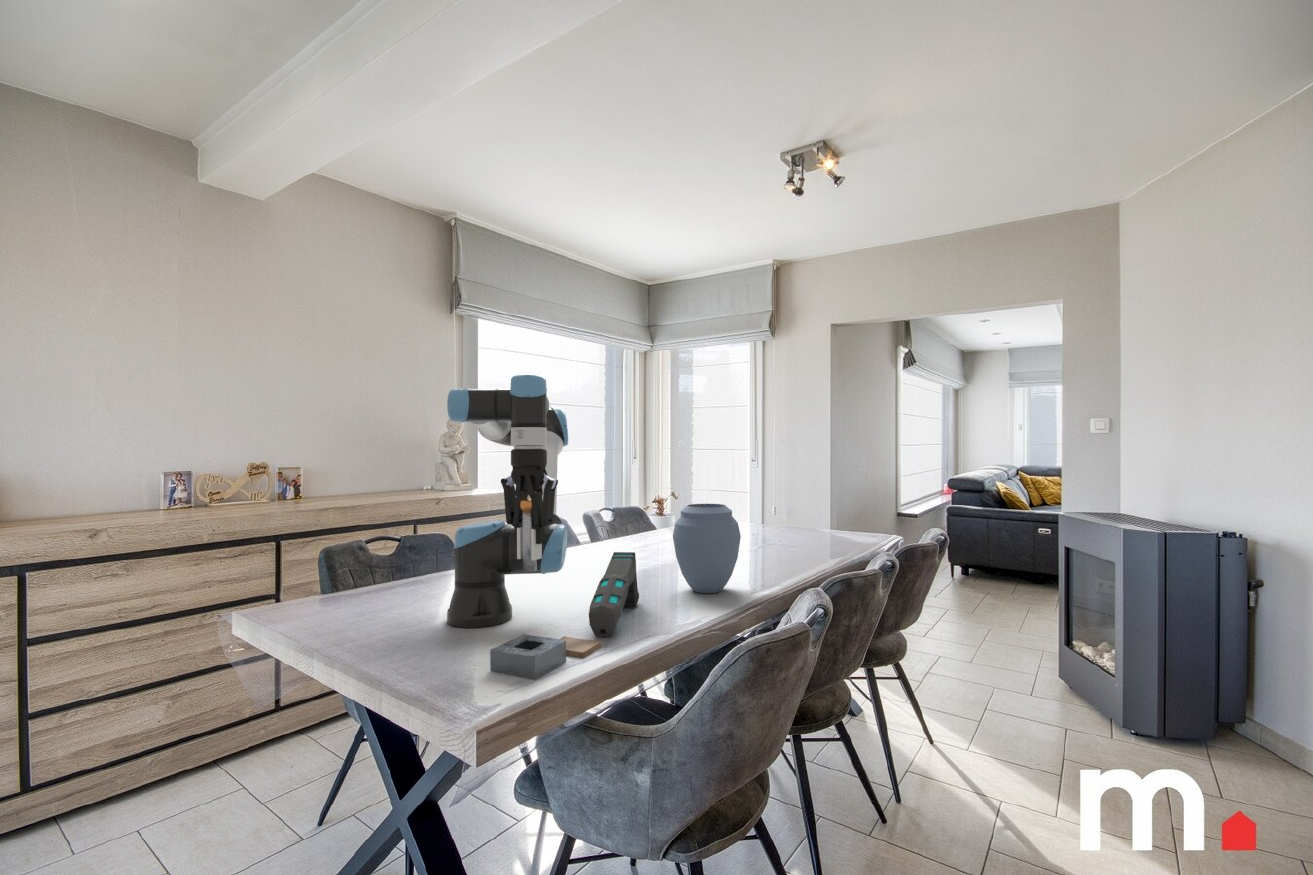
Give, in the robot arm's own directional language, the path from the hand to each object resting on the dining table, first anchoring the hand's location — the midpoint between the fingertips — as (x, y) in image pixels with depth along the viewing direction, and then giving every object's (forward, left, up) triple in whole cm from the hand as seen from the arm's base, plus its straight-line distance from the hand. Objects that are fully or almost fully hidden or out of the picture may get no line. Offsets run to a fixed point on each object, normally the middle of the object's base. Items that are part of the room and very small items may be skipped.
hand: (529, 558), depth 126 cm
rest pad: (+11, 0, -18) cm, 21 cm away
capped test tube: (0, 0, -3) cm, 3 cm away
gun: (+9, +22, -18) cm, 30 cm away
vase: (+19, +58, -18) cm, 63 cm away
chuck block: (+8, -11, -18) cm, 23 cm away
